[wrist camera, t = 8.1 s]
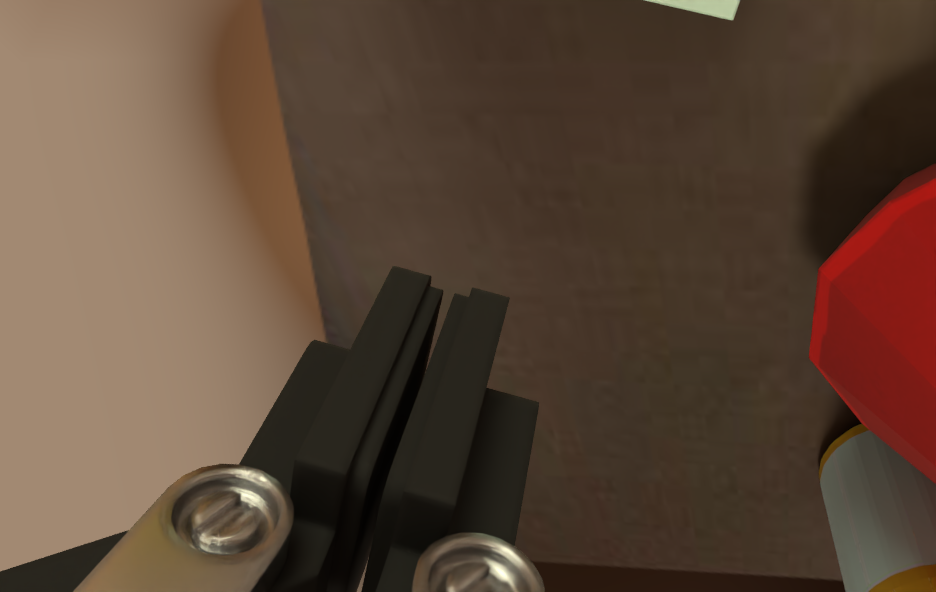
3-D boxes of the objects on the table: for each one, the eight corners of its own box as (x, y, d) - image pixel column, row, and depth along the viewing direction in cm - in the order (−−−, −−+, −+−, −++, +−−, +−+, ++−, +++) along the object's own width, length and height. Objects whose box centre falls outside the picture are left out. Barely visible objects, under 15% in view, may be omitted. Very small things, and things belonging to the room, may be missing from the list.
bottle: (995, 434, 43) (1141, 720, 30) (917, 528, 46) (1018, 816, 34) (858, 390, 43) (948, 656, 30) (792, 488, 46) (847, 760, 34)
